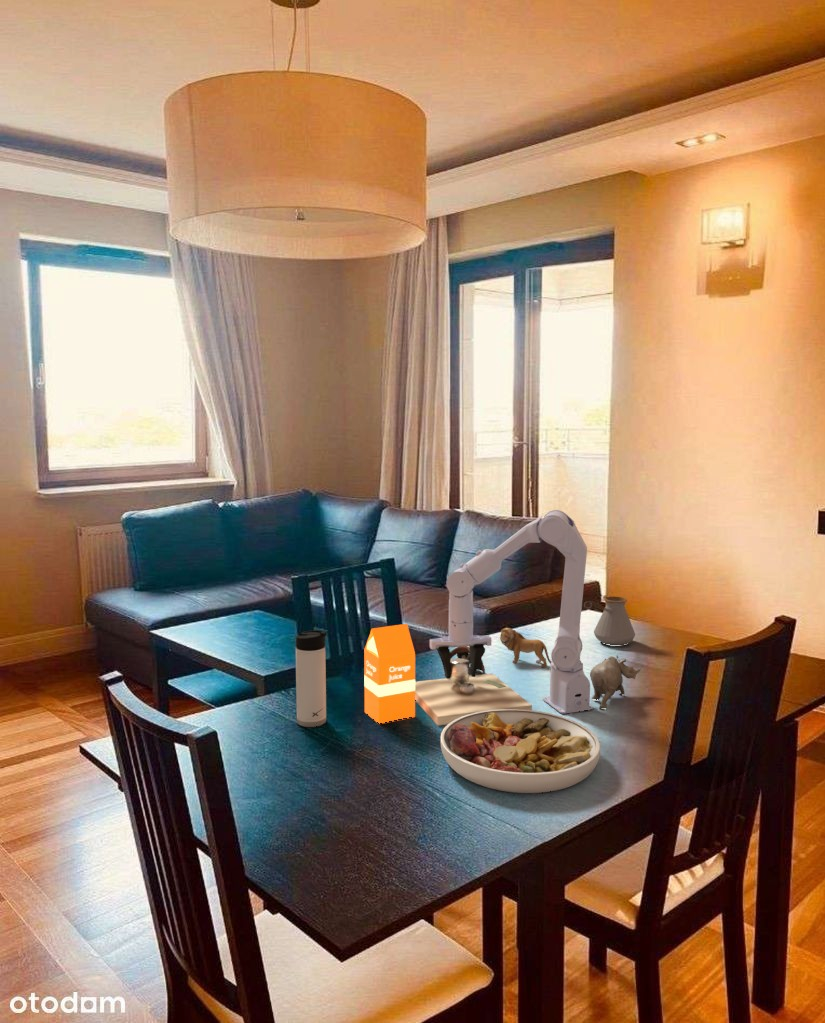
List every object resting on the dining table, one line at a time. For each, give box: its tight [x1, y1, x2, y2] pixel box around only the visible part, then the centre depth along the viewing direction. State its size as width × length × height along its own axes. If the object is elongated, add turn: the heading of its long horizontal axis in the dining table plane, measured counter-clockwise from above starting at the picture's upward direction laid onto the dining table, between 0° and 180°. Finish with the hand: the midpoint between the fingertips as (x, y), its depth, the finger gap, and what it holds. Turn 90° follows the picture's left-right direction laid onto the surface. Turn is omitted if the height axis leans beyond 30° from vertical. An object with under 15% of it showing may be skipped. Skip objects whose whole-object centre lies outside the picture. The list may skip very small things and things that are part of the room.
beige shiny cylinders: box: [448, 657, 474, 694], centre depth 189 cm, size 11×5×5 cm, turn 17°
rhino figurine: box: [589, 655, 643, 709], centre depth 187 cm, size 8×14×15 cm
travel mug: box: [295, 629, 328, 728], centre depth 172 cm, size 6×7×20 cm
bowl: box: [440, 709, 601, 794], centre depth 154 cm, size 30×30×8 cm
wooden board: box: [415, 673, 533, 726], centre depth 186 cm, size 22×22×2 cm
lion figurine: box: [499, 627, 552, 669], centre depth 213 cm, size 15×5×9 cm, turn 70°
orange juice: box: [363, 623, 416, 725], centre depth 177 cm, size 8×9×20 cm
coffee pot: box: [583, 596, 636, 645], centre depth 227 cm, size 21×12×15 cm, turn 137°
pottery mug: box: [450, 646, 486, 674], centre depth 205 cm, size 12×9×8 cm
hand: (460, 676), depth 190 cm, fingers open, 5 cm apart
